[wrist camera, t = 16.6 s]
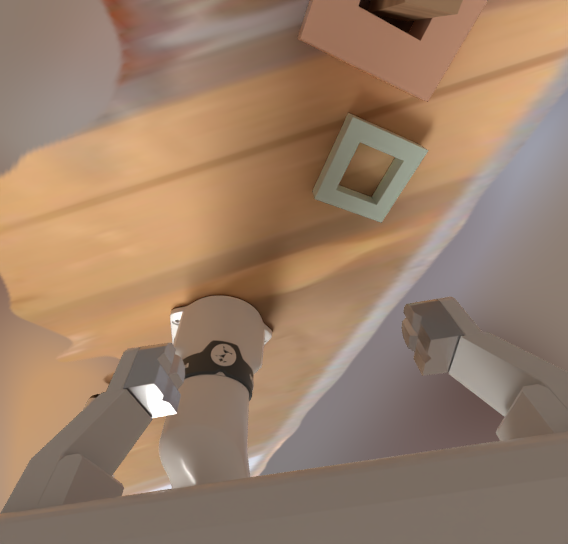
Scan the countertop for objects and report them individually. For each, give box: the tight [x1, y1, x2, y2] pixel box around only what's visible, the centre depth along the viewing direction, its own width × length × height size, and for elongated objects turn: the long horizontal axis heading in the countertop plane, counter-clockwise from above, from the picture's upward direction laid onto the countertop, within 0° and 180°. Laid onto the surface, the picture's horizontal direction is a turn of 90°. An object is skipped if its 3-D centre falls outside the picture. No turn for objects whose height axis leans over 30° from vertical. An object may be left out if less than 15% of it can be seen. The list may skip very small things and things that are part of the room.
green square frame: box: [312, 113, 428, 223], centre depth 37 cm, size 10×10×2 cm
